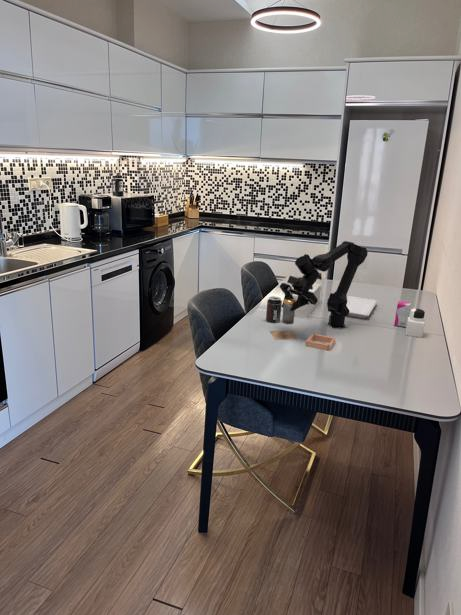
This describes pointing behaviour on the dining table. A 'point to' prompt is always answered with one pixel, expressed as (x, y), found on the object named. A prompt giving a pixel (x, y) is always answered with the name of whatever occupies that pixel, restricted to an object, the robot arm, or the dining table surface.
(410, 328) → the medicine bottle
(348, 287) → the robot arm
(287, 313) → the battery cell
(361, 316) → the tray
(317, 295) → the long white box
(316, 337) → the shallow wooden box
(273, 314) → the beverage can
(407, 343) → the dining table surface
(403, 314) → the supplement box
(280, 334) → the tester plate
